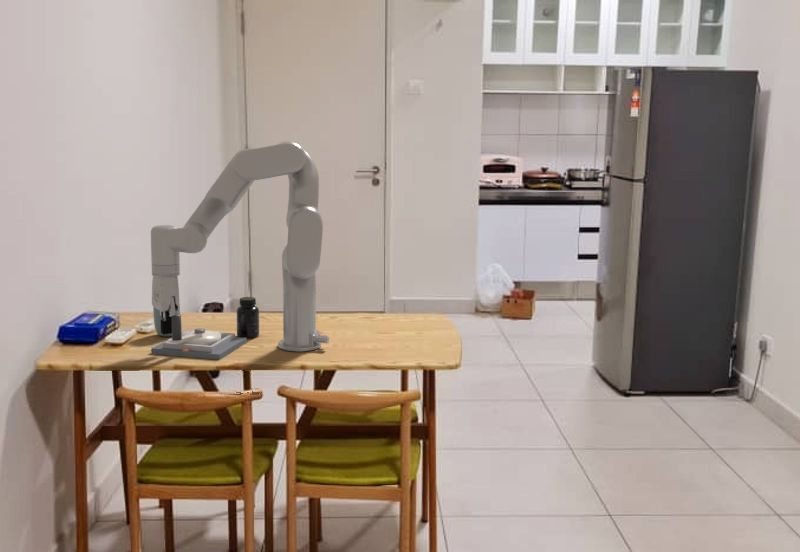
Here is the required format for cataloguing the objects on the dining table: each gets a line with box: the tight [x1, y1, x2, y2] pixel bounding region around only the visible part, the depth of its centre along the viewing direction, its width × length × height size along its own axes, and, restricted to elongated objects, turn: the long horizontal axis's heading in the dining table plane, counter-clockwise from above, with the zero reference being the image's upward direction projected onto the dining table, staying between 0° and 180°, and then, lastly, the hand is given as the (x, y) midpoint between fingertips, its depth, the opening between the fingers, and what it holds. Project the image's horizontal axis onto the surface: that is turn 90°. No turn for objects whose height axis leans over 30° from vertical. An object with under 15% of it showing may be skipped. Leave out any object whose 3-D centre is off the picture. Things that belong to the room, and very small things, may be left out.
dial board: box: [150, 329, 247, 360], centre depth 227 cm, size 21×18×3 cm
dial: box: [171, 313, 221, 346], centre depth 224 cm, size 16×12×10 cm
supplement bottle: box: [236, 296, 260, 340], centre depth 240 cm, size 7×7×12 cm
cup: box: [152, 302, 181, 337], centre depth 239 cm, size 8×8×10 cm
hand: (167, 333), depth 221 cm, fingers closed
